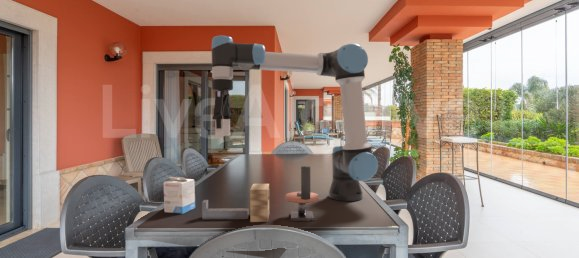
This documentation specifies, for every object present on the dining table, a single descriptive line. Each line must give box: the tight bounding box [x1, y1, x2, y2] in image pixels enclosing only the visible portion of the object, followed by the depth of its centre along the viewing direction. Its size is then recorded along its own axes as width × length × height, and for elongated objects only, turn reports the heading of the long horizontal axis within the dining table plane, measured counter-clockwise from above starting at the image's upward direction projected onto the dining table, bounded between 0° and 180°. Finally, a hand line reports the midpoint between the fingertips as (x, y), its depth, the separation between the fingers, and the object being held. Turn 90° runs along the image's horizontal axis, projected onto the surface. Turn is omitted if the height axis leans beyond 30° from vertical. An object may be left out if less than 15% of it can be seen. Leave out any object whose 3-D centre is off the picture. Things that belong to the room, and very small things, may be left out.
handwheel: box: [284, 165, 320, 204], centre depth 116 cm, size 12×12×12 cm
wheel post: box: [290, 203, 315, 222], centre depth 117 cm, size 8×8×6 cm
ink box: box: [163, 176, 196, 215], centre depth 126 cm, size 9×8×13 cm
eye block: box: [249, 183, 270, 223], centre depth 116 cm, size 6×10×11 cm, turn 1°
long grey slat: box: [201, 199, 250, 220], centre depth 116 cm, size 16×3×6 cm, turn 91°
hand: (223, 137), depth 120 cm, fingers open, 13 cm apart
